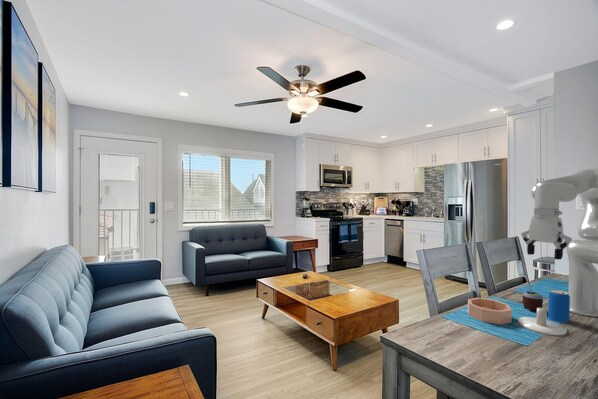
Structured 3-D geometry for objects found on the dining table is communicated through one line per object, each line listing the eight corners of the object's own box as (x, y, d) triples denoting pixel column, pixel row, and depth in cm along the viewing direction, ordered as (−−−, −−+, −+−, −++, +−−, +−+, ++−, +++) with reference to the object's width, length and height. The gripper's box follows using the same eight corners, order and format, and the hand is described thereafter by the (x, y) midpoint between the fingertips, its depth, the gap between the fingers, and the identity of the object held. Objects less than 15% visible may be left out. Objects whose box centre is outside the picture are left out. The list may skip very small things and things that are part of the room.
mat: (538, 319, 122) (538, 318, 122) (570, 331, 112) (570, 329, 112) (513, 324, 117) (513, 323, 117) (544, 337, 107) (544, 336, 107)
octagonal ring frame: (484, 308, 134) (485, 296, 134) (518, 322, 120) (519, 308, 120) (460, 312, 129) (460, 300, 129) (492, 327, 115) (492, 313, 115)
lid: (533, 316, 124) (534, 300, 124) (575, 332, 110) (576, 313, 110) (509, 321, 119) (509, 304, 119) (550, 338, 105) (550, 319, 105)
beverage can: (573, 325, 117) (574, 295, 117) (554, 323, 119) (555, 293, 118) (562, 318, 124) (563, 289, 124) (544, 317, 125) (545, 288, 125)
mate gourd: (540, 315, 126) (541, 280, 126) (518, 310, 132) (518, 276, 132) (544, 311, 131) (545, 277, 131) (522, 306, 137) (523, 273, 137)
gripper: (578, 215, 111) (576, 261, 111) (529, 212, 127) (527, 252, 127) (565, 214, 108) (563, 261, 108) (517, 211, 124) (514, 252, 124)
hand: (543, 256), depth 117 cm, fingers open, 9 cm apart
